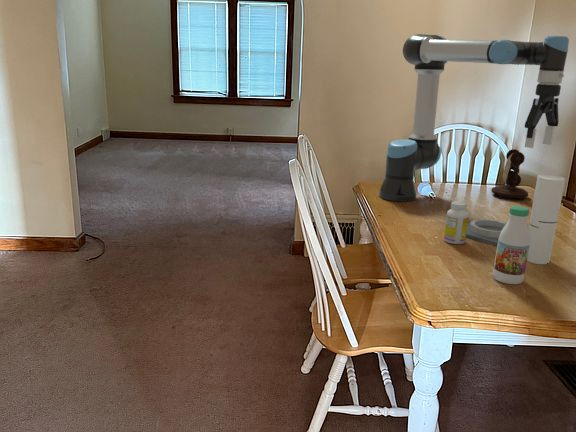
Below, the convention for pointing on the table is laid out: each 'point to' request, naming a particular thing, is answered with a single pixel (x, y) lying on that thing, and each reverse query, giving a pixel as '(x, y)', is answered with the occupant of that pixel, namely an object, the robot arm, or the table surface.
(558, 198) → the cylindrical container
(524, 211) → the milk bottle
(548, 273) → the table surface
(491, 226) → the collar board
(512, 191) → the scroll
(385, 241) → the table surface
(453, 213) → the supplement bottle
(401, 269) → the table surface
